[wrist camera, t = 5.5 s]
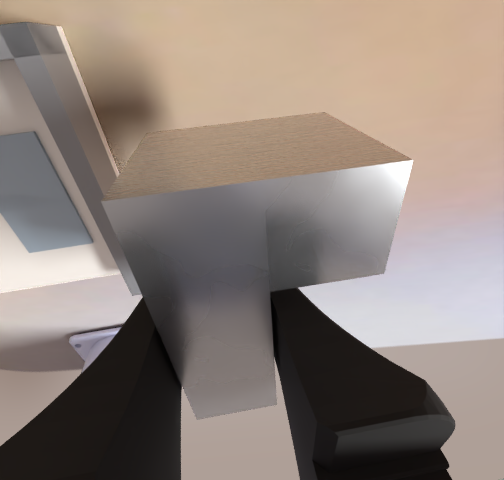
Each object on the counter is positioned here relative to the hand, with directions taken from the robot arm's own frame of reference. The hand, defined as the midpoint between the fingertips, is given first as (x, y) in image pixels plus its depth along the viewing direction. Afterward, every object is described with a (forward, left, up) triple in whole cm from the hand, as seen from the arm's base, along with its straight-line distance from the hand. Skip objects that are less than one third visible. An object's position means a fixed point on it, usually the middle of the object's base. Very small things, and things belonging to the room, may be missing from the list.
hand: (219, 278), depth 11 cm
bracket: (+1, -2, -1) cm, 2 cm away
